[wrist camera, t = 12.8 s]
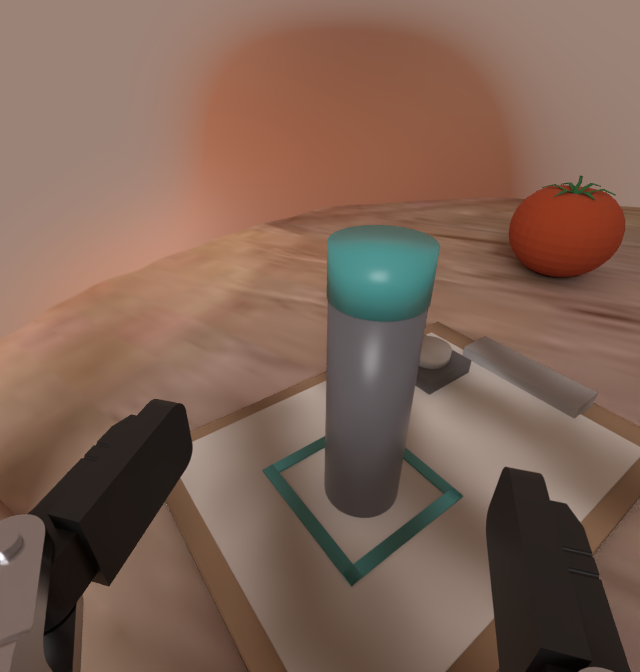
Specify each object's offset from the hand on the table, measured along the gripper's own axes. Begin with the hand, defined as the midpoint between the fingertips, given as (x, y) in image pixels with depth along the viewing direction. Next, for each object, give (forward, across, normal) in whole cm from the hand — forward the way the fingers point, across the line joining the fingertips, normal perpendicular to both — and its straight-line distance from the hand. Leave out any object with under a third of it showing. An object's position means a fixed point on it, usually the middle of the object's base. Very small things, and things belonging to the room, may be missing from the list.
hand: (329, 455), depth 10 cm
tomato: (+39, -16, +10) cm, 43 cm away
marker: (+6, 0, +9) cm, 11 cm away
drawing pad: (+10, -3, +10) cm, 14 cm away
